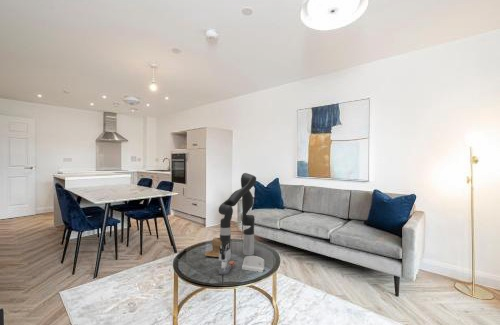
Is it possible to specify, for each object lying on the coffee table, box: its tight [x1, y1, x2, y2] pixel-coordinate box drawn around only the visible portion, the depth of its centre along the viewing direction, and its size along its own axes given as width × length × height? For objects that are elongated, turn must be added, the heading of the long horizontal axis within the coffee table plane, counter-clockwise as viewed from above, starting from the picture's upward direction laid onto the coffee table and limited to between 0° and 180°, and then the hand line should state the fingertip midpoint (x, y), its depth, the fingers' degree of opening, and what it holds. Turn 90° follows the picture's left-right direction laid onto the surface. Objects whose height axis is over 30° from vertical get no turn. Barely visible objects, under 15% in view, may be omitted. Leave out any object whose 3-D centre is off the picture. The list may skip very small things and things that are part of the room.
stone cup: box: [204, 237, 222, 258], centre depth 200 cm, size 15×12×15 cm
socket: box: [218, 247, 232, 262], centre depth 166 cm, size 6×6×7 cm
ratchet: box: [218, 260, 236, 276], centre depth 172 cm, size 19×7×8 cm, turn 162°
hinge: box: [241, 255, 266, 273], centre depth 174 cm, size 17×5×10 cm, turn 70°
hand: (224, 257), depth 166 cm, fingers closed on socket, 6 cm apart
